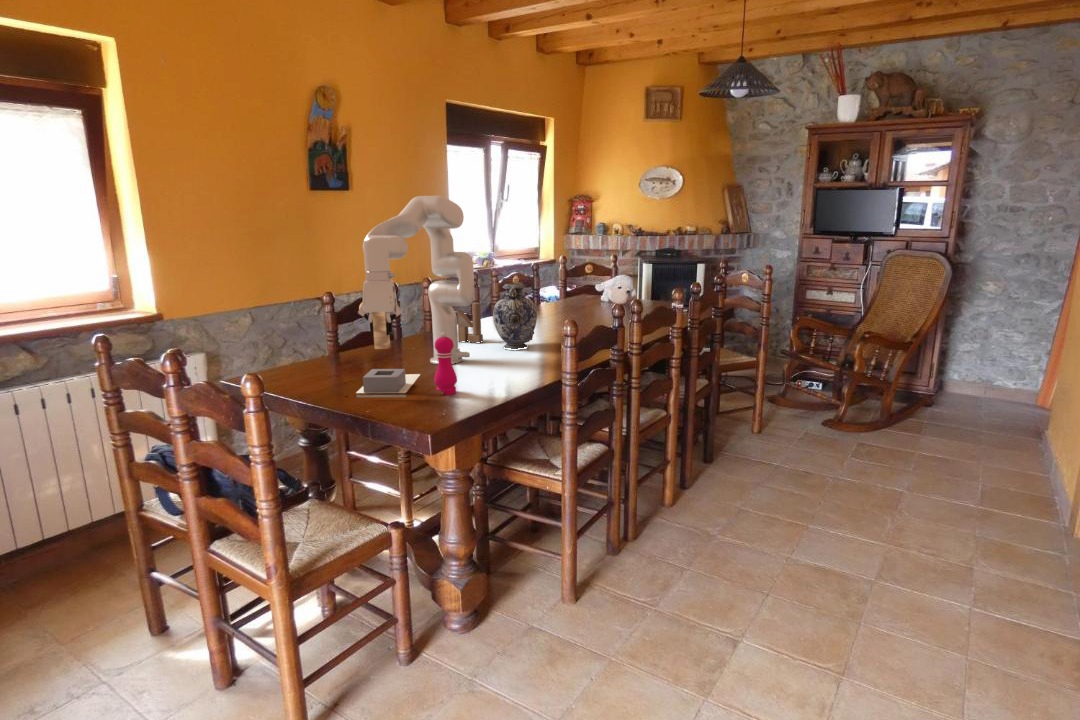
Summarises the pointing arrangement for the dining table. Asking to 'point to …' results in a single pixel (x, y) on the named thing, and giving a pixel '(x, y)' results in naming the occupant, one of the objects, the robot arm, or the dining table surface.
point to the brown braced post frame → (470, 325)
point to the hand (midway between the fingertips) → (381, 333)
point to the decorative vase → (515, 316)
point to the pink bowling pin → (445, 366)
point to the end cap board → (386, 382)
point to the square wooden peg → (380, 331)
